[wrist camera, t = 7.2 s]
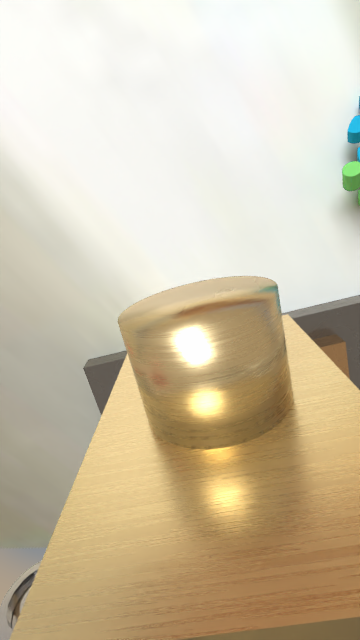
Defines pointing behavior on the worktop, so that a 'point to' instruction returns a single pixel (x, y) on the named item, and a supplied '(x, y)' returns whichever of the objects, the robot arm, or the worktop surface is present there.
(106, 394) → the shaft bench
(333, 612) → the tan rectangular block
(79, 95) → the worktop surface
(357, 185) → the gear
